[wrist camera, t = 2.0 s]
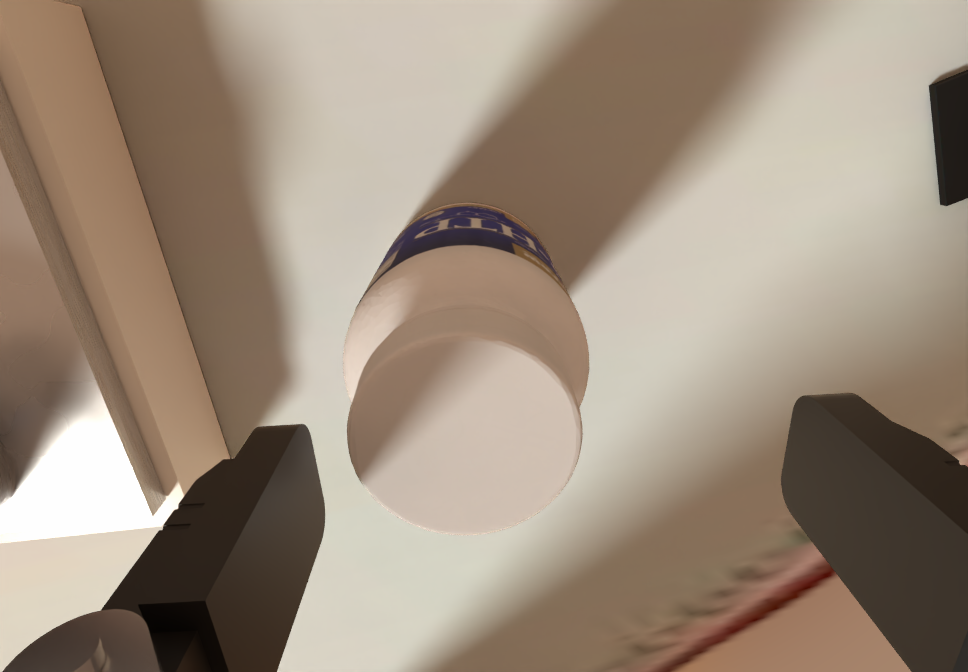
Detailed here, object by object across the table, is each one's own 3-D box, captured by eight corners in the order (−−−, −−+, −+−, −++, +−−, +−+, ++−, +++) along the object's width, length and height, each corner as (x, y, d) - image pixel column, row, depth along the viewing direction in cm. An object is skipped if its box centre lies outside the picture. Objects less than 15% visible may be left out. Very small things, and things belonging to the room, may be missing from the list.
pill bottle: (577, 232, 17) (681, 353, 9) (518, 380, 19) (559, 593, 11) (407, 174, 16) (348, 249, 8) (362, 335, 18) (278, 528, 10)
